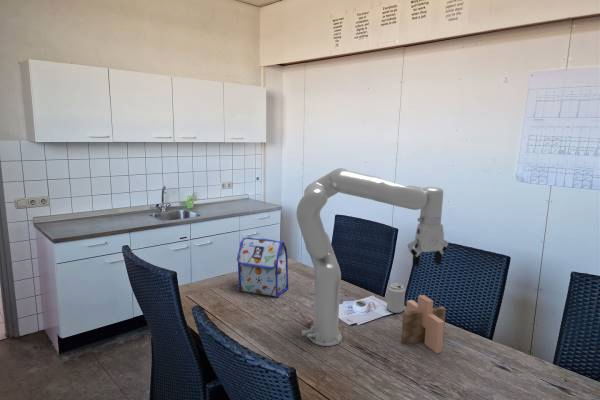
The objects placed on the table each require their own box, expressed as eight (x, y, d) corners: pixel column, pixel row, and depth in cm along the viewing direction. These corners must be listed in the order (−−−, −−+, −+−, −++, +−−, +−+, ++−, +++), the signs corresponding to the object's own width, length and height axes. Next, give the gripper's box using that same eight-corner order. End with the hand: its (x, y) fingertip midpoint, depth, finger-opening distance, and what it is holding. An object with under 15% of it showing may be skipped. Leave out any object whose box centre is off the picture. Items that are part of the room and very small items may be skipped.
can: (404, 314, 178) (405, 289, 176) (386, 312, 180) (388, 287, 178) (403, 307, 185) (404, 282, 183) (386, 306, 187) (388, 281, 185)
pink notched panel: (441, 352, 148) (445, 308, 145) (436, 353, 147) (439, 309, 144) (410, 327, 167) (413, 288, 164) (405, 328, 166) (407, 288, 163)
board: (404, 344, 153) (406, 314, 151) (401, 341, 155) (403, 312, 153) (443, 337, 159) (445, 308, 157) (440, 334, 161) (442, 306, 159)
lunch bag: (234, 293, 198) (233, 240, 193) (249, 282, 213) (249, 232, 209) (276, 300, 190) (277, 246, 186) (289, 288, 206) (290, 237, 201)
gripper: (416, 223, 143) (412, 269, 146) (456, 221, 149) (452, 265, 152) (404, 219, 150) (401, 263, 153) (443, 217, 156) (439, 259, 159)
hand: (426, 264), depth 152 cm, fingers open, 9 cm apart
